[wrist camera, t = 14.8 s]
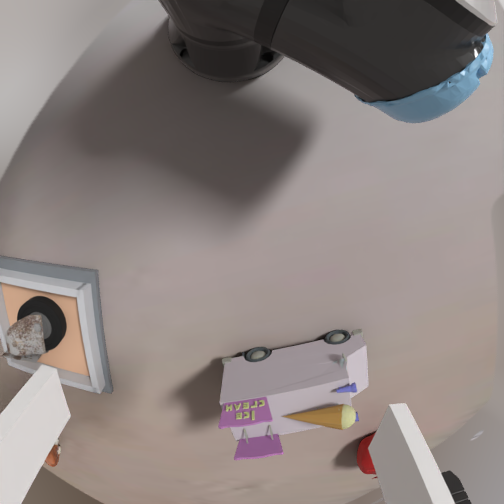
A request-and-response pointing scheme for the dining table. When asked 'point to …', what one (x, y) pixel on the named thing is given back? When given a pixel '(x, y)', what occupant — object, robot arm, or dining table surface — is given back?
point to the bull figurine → (53, 455)
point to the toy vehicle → (291, 391)
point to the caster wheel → (35, 330)
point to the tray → (75, 311)
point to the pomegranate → (365, 456)
